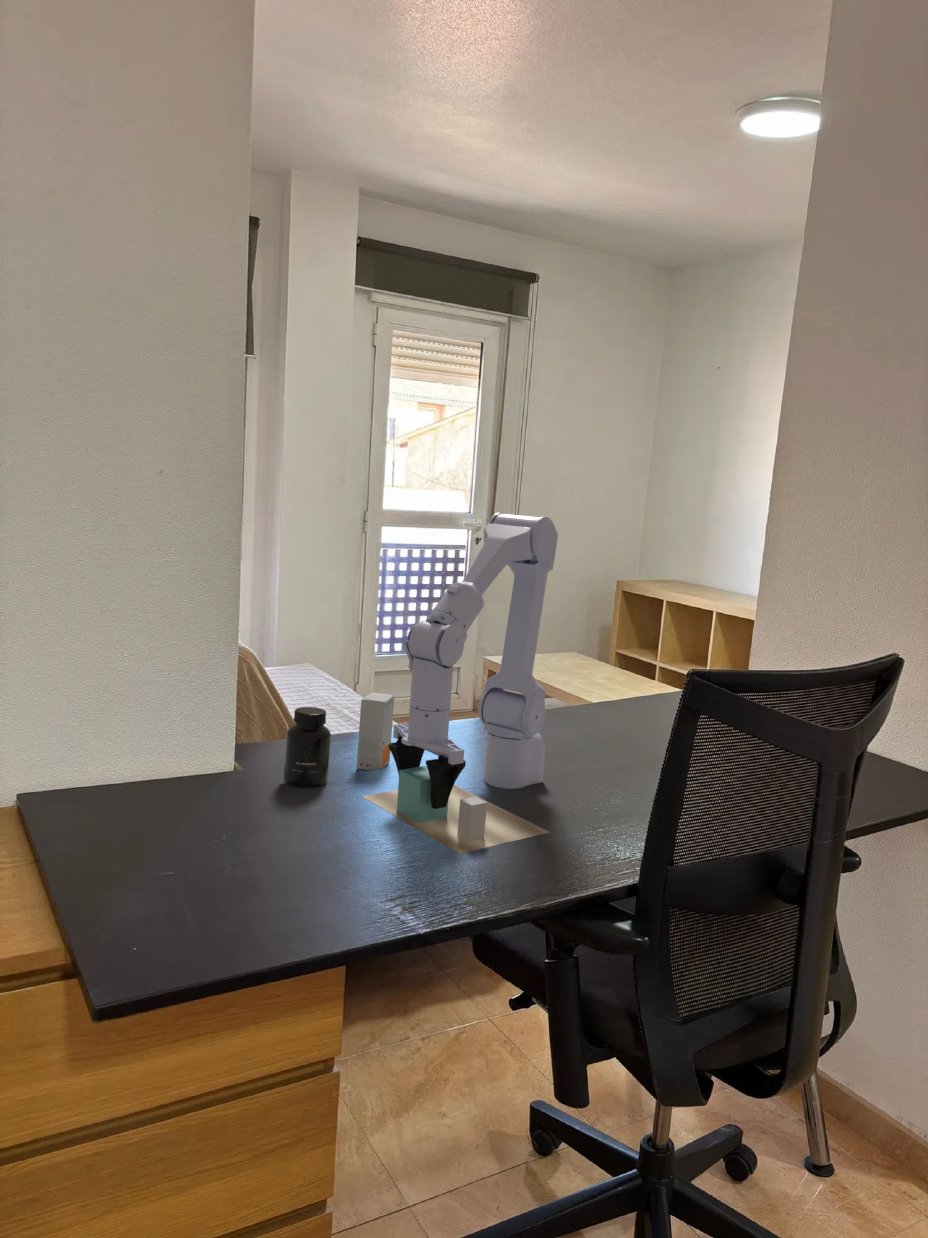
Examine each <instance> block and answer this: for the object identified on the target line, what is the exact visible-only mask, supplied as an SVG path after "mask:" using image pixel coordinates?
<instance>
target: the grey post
mask: <svg viewBox="0 0 928 1238" xmlns="http://www.w3.org/2000/svg"><path fill="white" fill-rule="evenodd" d="M486 809H487V802H485V801H483V800H481V799H479V798H477V797H470V798H465V799H460V807H459V820H458V833H457V835H459V836H461V837H462V838H464V839H466V840H468V841H472V840H477V839H481V838H484V834H485V822H486Z"/></svg>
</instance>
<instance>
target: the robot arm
mask: <svg viewBox="0 0 928 1238" xmlns="http://www.w3.org/2000/svg"><path fill="white" fill-rule="evenodd" d="M558 537H559V533H558V531H557V528H556V526H555V524H554V522H553V520H552V519H551V518H550V517H548V516H530V515H522V514H521V515H519V514H518V515H517V514H510V513H505V512H495V513H494V514H493V515H491V516H490V518H489V520H488V522H487V525H485V526H484V528H483V545H482V547H481V548H480V550H479V551H478V553H477V556H476V558H475V559H474V561H473V562H472V564H471V566H470V568H469V569H468V571H467V573H466V574H465V577H464V578H463V580H462V582H461V581H459V582H453V583H452V584H450V585H449V587H448V588H447V589H446V591H445V592H444V594H443V595H442V597H441V598H440V599H439V601H438V602H437V603H436V605H435V607H434V608H433V609H432V611H431V613H430V614H429V615H428V617H427V618H426V619H425V620H421V621H419V622H417V623H415V624H414V625H412V626H411V628H410V630H409V631H408V633H407V636H406V637H407V638H406V640H405V641H404V650H405V653H406V655H407V658H408V669H409V671H410V672H411V683H410V697H409V698H410V699H409V713H408V724H407V723H399V724H394V725H393V731H392V735H393V736H392V738H394V739H396V740H395V742H391V743H390V744H389V749H390V754H391V755H392V758H393V759H394V763H395V765H396V769H397V774H398V776H399V770H403V769H409V768H415V767H421V763H422V759H423V756H424V753H425V751H427V752H428V753H431V754H433V755H435V756H437V758H434V759H427V760H425V766H427V768H428V771H429V776H430V782H431V805H432V808H434V809H439V808H444V807H446V805H447V802H448V799H449V796H450V793H451V791H452V788H453V786H454V785H455V783H456V781H457V780H458V778H459V777H460V774H461V773H462V771H464V769H465V768H466V763H467V762H466V760H464V758H465V749H464V748H462V747H460V746H459V745H457V743H455V742H454V740H452V739H451V738H450V737H449V727H450V717H451V716H450V714H451V701H452V700H451V699H452V688H453V687H452V686H453V672H454V666H455V664H457V662H458V661H459V660H460V659H461V657H462V656H463V652H464V649H465V643H466V640H467V639H468V633H467V632H468V630H469V629H470V628H471V626H472V625H473V623H474V621H476V619H477V617H478V616H479V614H480V612H481V611H482V609H484V605H485V602H484V598H483V595H484V593H485V592H486V591H487V589H488V588H489V587H490V586H491V584H493V582H494V581H495V580H496V578H497V577H498V576H499V574H500V573H501V572H502V571H503V570H504V568H505V567H506V566H508V567H509V568H510V570H511V572H512V573H513V577H514V578H513V584H512V592H511V596H510V597H511V598H510V603H509V604H510V605H509V611H508V617H507V624H506V629H505V636H504V643H503V649H502V657H501V663H500V670H499V672H497V673H496V674H493V675H492V676H491V677H488V678H487V679H486V680H485V684H484V685H485V686H484V689H483V692H482V695H481V696H480V699H479V702H478V706H477V711H478V712H477V713H478V717H479V720H480V722H481V723H482V724H483V725H484V726H483V730H484V731H487V737H486V748H485V749H486V750H485V759H484V760H485V761H484V771H483V772H484V773H483V782H485V783H486V784H487V785H490V786H491V787H495V788H498V789H499V788H500V789H506V790H507V789H511V790H514V789H522V788H525V787H527V786H530V785H534V784H540V783H543V780H544V770H545V760H546V759H545V757H546V744H545V740H544V738H543V736H542V735H541V734H540V733H539V732H540V731H541V730H542V728H543V726H544V723H545V721H546V713H547V710H546V705H545V704H546V690H545V688H544V687H543V686H542V685H541V684H540V683H539V682H538V680H537V679H536V678H535V677H534V676H533V672H534V665H535V659H536V652H537V647H538V646H537V645H538V641H539V640H538V638H539V632H540V626H541V620H542V613H543V607H544V600H545V595H546V594H545V593H546V587H547V582H548V581H547V579H548V575H549V574H548V573H549V572H551V571H552V570H553V569H554V565H555V564H554V563H555V558H556V550H557V546H558V540H559V538H558ZM507 690H508V691H507Z"/></svg>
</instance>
